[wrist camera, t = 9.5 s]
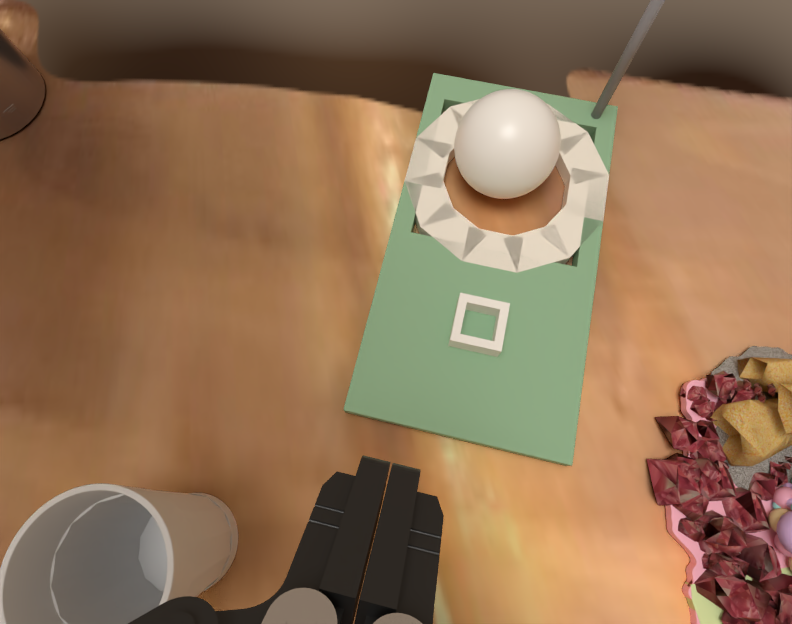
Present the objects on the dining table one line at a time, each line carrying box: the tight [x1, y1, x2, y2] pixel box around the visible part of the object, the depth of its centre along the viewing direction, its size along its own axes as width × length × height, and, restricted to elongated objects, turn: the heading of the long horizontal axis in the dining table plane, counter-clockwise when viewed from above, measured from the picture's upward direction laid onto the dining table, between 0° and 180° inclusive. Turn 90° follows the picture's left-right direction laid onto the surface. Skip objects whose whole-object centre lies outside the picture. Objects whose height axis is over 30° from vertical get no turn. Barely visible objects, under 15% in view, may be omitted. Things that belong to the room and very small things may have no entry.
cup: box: [0, 483, 238, 624], centre depth 28 cm, size 8×8×12 cm
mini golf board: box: [344, 0, 665, 466], centre depth 33 cm, size 30×16×16 cm, turn 167°
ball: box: [454, 89, 561, 199], centre depth 39 cm, size 8×8×8 cm
